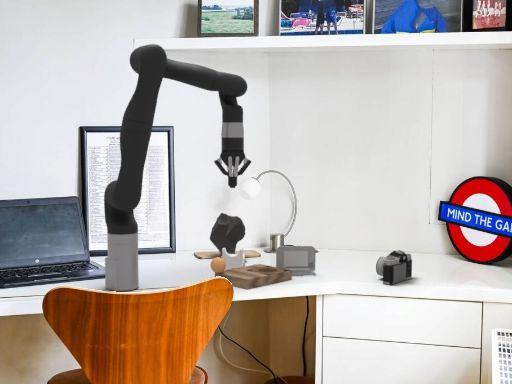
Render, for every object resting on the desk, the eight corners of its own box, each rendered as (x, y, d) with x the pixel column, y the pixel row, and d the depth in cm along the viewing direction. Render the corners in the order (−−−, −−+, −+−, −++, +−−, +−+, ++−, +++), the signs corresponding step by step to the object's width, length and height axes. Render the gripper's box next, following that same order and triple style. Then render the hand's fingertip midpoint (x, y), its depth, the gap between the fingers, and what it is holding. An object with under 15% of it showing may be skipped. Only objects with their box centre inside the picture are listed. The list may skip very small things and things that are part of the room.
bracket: (242, 271, 233) (242, 249, 232) (222, 270, 233) (222, 249, 232) (244, 263, 245) (244, 243, 245) (225, 263, 246) (225, 243, 245)
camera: (393, 274, 227) (394, 244, 226) (417, 277, 221) (418, 248, 220) (368, 281, 216) (369, 250, 215) (393, 285, 210) (393, 254, 209)
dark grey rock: (246, 255, 261) (247, 209, 259) (247, 262, 246) (248, 214, 244) (210, 255, 260) (210, 209, 259) (208, 263, 245) (208, 214, 243)
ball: (228, 262, 211) (217, 274, 210) (230, 266, 215) (219, 277, 215) (217, 252, 212) (205, 263, 211) (219, 255, 217) (208, 267, 216)
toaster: (312, 270, 233) (312, 242, 232) (315, 276, 224) (315, 246, 223) (274, 270, 233) (274, 242, 232) (276, 276, 223) (276, 246, 223)
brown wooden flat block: (246, 289, 204) (246, 279, 204) (214, 281, 215) (214, 272, 214) (291, 279, 218) (291, 270, 217) (259, 272, 228) (259, 263, 228)
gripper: (214, 136, 219) (215, 189, 221) (254, 136, 222) (254, 188, 224) (211, 136, 227) (211, 187, 228) (249, 136, 230) (249, 186, 231)
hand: (232, 187), depth 226 cm, fingers closed
